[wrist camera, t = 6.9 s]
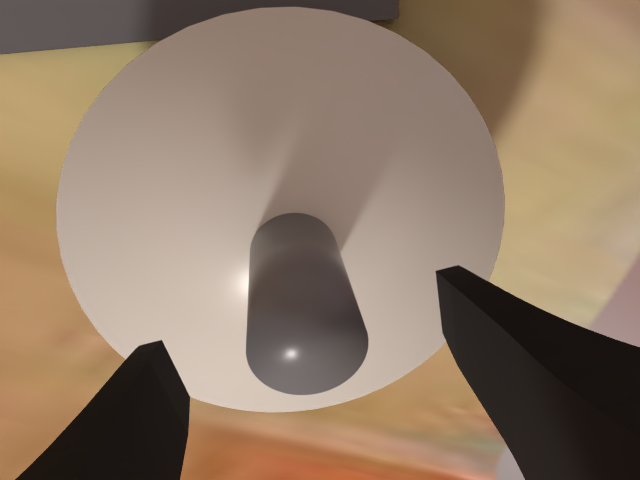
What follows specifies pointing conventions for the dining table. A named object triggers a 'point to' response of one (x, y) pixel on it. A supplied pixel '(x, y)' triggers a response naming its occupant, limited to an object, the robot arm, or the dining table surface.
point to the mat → (139, 19)
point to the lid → (278, 206)
